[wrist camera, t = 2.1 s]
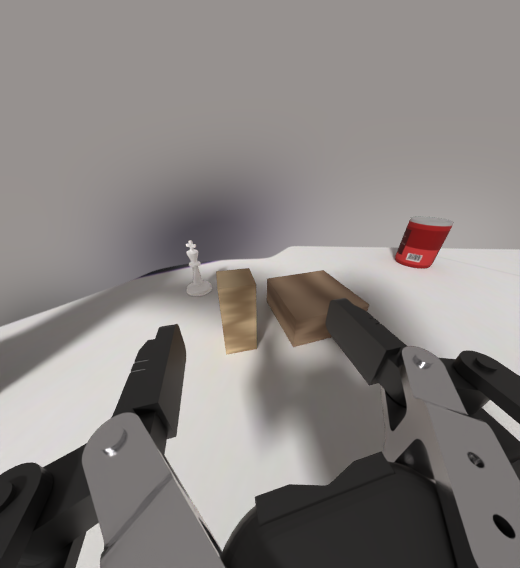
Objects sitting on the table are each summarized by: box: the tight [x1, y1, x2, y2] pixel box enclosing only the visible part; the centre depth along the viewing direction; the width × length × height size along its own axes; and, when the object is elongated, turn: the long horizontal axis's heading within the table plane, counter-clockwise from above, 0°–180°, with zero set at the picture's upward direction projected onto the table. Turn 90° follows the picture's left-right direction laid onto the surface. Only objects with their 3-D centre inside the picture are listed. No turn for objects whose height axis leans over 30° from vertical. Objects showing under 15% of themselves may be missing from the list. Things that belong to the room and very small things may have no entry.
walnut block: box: [267, 270, 369, 347], centre depth 30 cm, size 11×11×5 cm
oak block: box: [216, 268, 257, 355], centre depth 23 cm, size 4×4×10 cm
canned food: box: [395, 216, 454, 268], centre depth 46 cm, size 8×8×11 cm
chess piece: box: [186, 241, 212, 296], centre depth 35 cm, size 5×5×10 cm
